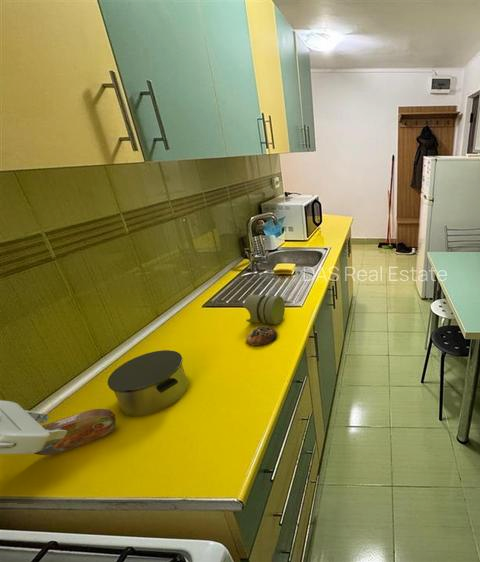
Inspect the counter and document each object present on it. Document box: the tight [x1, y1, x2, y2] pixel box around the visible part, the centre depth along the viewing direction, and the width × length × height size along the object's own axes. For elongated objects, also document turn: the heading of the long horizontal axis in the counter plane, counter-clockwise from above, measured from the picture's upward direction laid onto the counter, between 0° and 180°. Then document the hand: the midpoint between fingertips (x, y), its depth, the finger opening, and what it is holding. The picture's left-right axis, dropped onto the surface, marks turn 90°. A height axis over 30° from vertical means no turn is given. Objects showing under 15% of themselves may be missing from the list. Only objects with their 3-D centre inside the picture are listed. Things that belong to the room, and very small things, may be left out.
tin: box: [33, 408, 117, 456], centre depth 71 cm, size 15×3×8 cm, turn 122°
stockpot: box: [106, 349, 189, 417], centre depth 86 cm, size 19×17×9 cm
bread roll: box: [245, 325, 278, 347], centre depth 113 cm, size 11×11×5 cm
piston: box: [242, 294, 286, 325], centre depth 123 cm, size 11×12×11 cm
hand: (55, 425), depth 69 cm, fingers open, 8 cm apart
